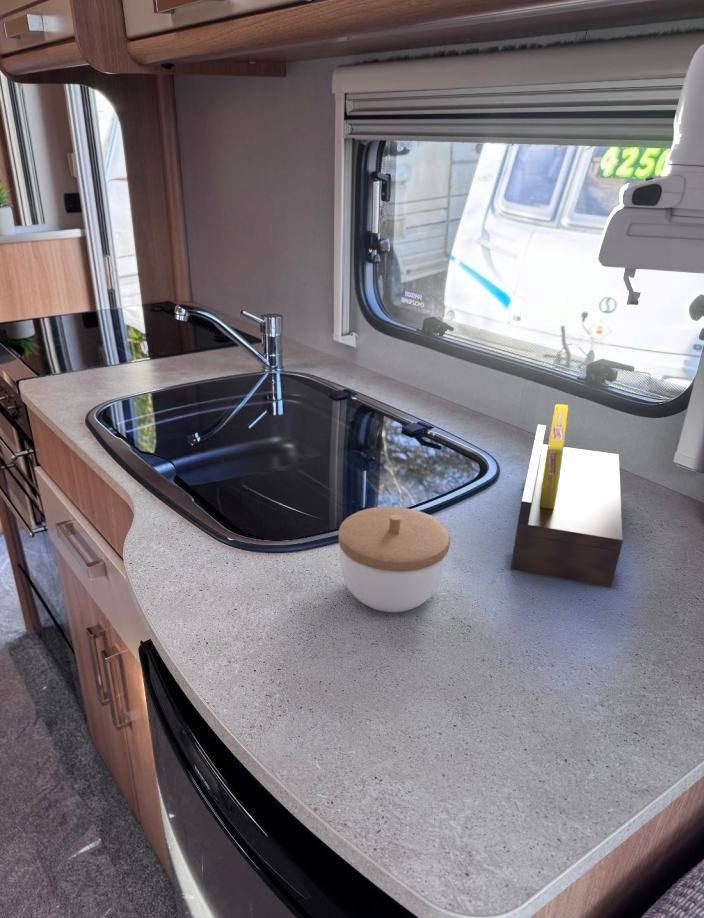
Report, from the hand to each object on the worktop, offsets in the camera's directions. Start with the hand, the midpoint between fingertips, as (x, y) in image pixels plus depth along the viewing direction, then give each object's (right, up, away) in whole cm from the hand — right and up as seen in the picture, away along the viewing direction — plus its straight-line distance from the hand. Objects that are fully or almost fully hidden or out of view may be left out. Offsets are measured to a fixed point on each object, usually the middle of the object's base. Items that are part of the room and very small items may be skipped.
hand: (670, 307), depth 94 cm
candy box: (-14, -23, +4) cm, 27 cm away
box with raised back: (-12, -30, +6) cm, 32 cm away
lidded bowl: (-37, -37, -7) cm, 53 cm away
